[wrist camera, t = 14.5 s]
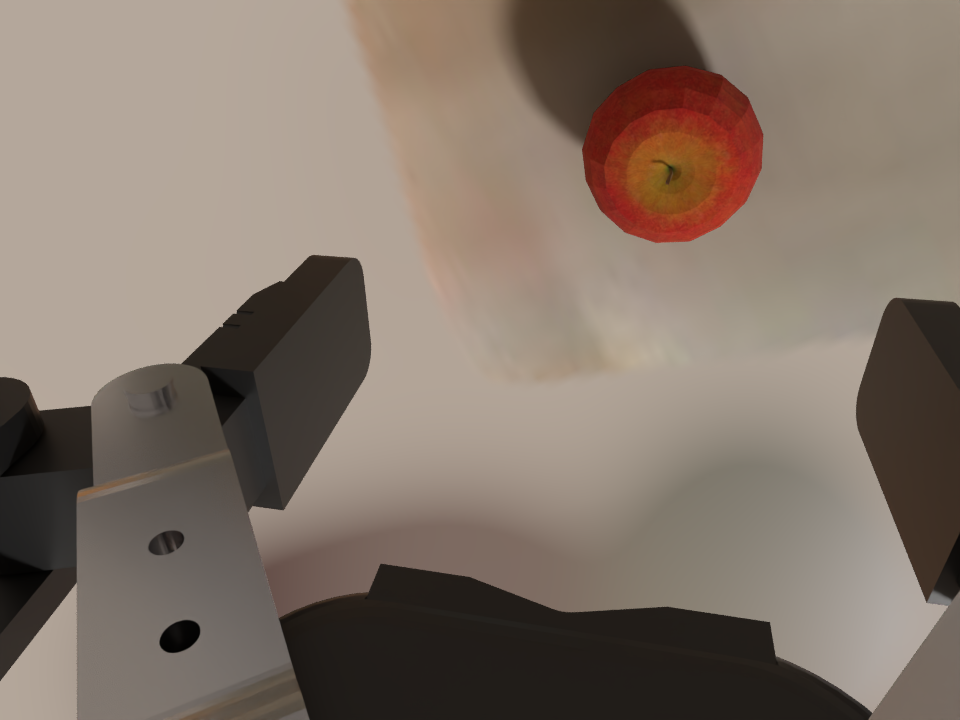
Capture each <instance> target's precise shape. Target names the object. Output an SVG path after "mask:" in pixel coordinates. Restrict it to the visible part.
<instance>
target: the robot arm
mask: <svg viewBox="0 0 960 720" xmlns="http://www.w3.org/2000/svg"><path fill="white" fill-rule="evenodd" d="M370 356H371V339H370V330H369V321H368V312H367V303H366V294H365V285H364V276H363V270H362V266H361V264H360V262H359V261H358V259H356V258H348V257H334V256H319V255H312V256H309V257H308V258H307V259H306V260H305V261H304V262H303V263H302V264H301V265H300V266H299V267H298V268H297V269H296V270H295V271H294V272H293V273H292V274H291V275H290V276H289V277H288V278H287V279H286V280H285V281H284V282H282V281H279V282H277V283H275V284H273V285H271V286H269V287H267V288H265V289H263V290H261V291H259V292H257V293H255V294H254V295H252V296H251V297H250V298H249V299H248V300H247V301H246V302H245V303H244V304H243V305H242V306H241V307H240V308H239V309H238V310H237V314H233V315H231V316H230V317H229V318H228V320H226V321H225V322H224V323H223V327H219V328H218V329H217V330H216V331H215V332H214V333H213V334H212V335H211V336H210V337H209V338H208V339H207V340H205V342H203V344H202V345H200V346H199V347H198V348H197V349H196V350H195V351H194V352H193V353H192V354H191V355H190V356H189V357H188V358H187V359H186V360H185V361H184V362H183V363H182V364H160V365H152V366H147V367H143V368H140V369H136V370H134V371H131V372H128V373H126V374H124V375H121V376H119V377H117V378H116V379H114V380H112V381H110V382H109V383H108V384H106V385H105V386H104V387H102V388H101V389H100V390H99V391H98V393H97V394H96V395H95V396H94V399H93V401H92V405H91V406H85V407H75V408H64V409H53V410H43V411H39V410H38V408H37V405H36V403H35V400H34V398H33V396H32V393H31V391H30V389H29V386H28V385H27V384H26V383H24V382H22V381H21V380H17V379H14V378H7V377H0V681H1V679H2V678H3V677H4V675H5V674H6V673H7V671H8V670H9V669H10V668H11V666H12V665H13V664H14V663H15V661H16V660H17V659H18V657H19V656H20V655H21V654H22V652H23V651H24V650H25V648H26V647H27V646H28V645H29V643H30V642H31V641H32V639H33V638H34V636H36V634H37V633H38V632H39V630H40V629H41V628H42V627H43V625H44V624H45V623H46V621H47V620H48V619H49V618H50V616H51V615H52V614H53V612H54V611H55V610H56V609H57V607H58V606H59V605H60V603H61V602H62V601H63V600H64V598H65V597H66V596H67V594H68V593H69V592H70V591H71V589H72V588H73V587H74V585H75V584H76V583H77V720H960V307H959V306H958V305H957V304H956V303H954V302H947V301H933V300H919V299H905V298H894V299H892V300H891V301H890V302H889V304H888V305H887V307H886V309H885V311H884V313H883V316H882V319H881V322H880V325H879V328H878V332H877V335H876V338H875V341H874V344H873V347H872V350H871V354H870V356H869V360H868V363H867V366H866V369H865V372H864V375H863V378H862V381H861V385H860V388H859V392H858V397H857V405H856V419H857V426H858V430H859V433H860V436H861V438H862V441H863V443H864V446H865V448H866V451H867V453H868V456H869V458H870V461H871V463H872V466H873V468H874V471H875V473H876V476H877V478H878V481H879V483H880V486H881V489H882V491H883V494H884V496H885V499H886V501H887V504H888V506H889V509H890V511H891V514H892V516H893V519H894V521H895V524H896V526H897V529H898V532H899V534H900V536H901V539H902V541H903V544H904V547H905V549H906V552H907V554H908V557H909V559H910V562H911V564H912V567H913V569H914V572H915V574H916V577H917V579H918V582H919V585H920V587H921V590H922V592H923V595H924V597H925V600H926V602H927V603H932V604H939V605H946V606H948V608H947V609H946V611H945V612H944V613H943V615H942V616H941V618H940V619H939V621H938V622H937V623H936V625H935V626H934V628H933V629H932V630H931V632H930V633H929V635H928V636H927V638H926V639H925V640H924V642H923V643H922V645H921V646H920V647H919V649H918V650H917V651H916V653H915V654H914V656H913V657H912V659H911V660H910V662H909V663H908V664H907V666H906V667H905V668H904V670H903V671H902V673H901V674H900V676H899V677H898V678H897V680H896V681H895V682H894V684H893V686H892V687H891V688H890V690H889V691H888V693H887V694H886V695H885V697H884V698H883V699H882V701H881V702H880V704H879V705H878V707H877V708H876V709H875V711H874V712H873V713H872V712H870V711H869V710H868V709H867V708H866V707H865V706H863V705H862V704H860V703H859V702H858V701H856V700H855V699H853V698H852V697H851V696H849V695H848V694H846V693H845V692H843V691H842V690H841V689H839V688H838V687H836V686H834V685H833V684H831V683H829V682H828V681H826V680H824V679H822V678H821V677H819V676H817V675H815V674H814V673H811V672H810V671H808V670H806V669H804V668H801V667H799V666H797V665H795V664H793V663H791V662H789V661H786V660H784V659H781V658H779V657H776V656H775V650H774V644H773V639H772V633H771V626H770V622H764V621H758V620H751V619H745V618H737V617H731V616H724V615H718V614H711V613H705V612H698V611H692V610H685V609H678V608H671V607H657V608H641V609H626V610H625V609H624V610H607V611H592V612H572V613H571V612H561V611H557V610H554V609H551V608H548V607H546V606H543V605H541V604H538V603H536V602H533V601H530V600H527V599H525V598H522V597H520V596H517V595H515V594H512V593H509V592H507V591H504V590H502V589H499V588H497V587H494V586H491V585H489V584H486V583H483V582H481V581H478V580H476V579H473V578H471V577H465V576H458V575H452V574H445V573H439V572H432V571H426V570H419V569H412V568H406V567H398V566H392V565H386V564H380V567H379V569H378V572H377V574H376V576H375V579H374V581H373V584H372V586H371V588H370V591H369V592H366V593H356V594H349V595H344V596H338V597H334V598H330V599H326V600H323V601H319V602H316V603H313V604H310V605H307V606H305V607H302V608H300V609H297V610H294V611H292V612H290V613H288V614H286V615H284V616H282V617H280V618H278V614H277V611H276V608H275V604H274V601H273V597H272V594H271V590H270V587H269V584H268V580H267V577H266V573H265V570H264V566H263V563H262V560H261V556H260V553H259V550H258V546H257V542H256V539H255V535H254V532H253V529H252V525H251V522H250V518H249V515H248V512H249V510H250V509H251V507H252V506H256V507H263V508H271V509H278V510H284V509H285V507H286V505H287V504H288V502H289V501H290V499H291V497H292V496H293V494H294V492H295V491H296V489H297V488H298V486H299V484H300V483H301V481H302V479H303V478H304V476H305V474H306V473H307V471H308V470H309V468H310V466H311V465H312V463H313V462H314V460H315V458H316V457H317V455H318V453H319V452H320V450H321V449H322V447H323V445H324V444H325V442H326V440H327V439H328V437H329V435H330V434H331V432H332V431H333V429H334V427H335V426H336V424H337V422H338V421H339V419H340V418H341V416H342V414H343V413H344V411H345V410H346V408H347V406H348V405H349V403H350V401H351V400H352V398H353V397H354V395H355V393H356V392H357V390H358V388H359V387H360V385H361V383H362V382H363V380H364V378H365V377H366V374H367V371H368V367H369V363H370Z"/></svg>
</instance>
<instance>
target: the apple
mask: <svg viewBox="0 0 960 720" xmlns="http://www.w3.org/2000/svg"><path fill="white" fill-rule="evenodd" d="M762 149H763V133H762V130H761V127H760V125H759V123H758V120H757V118H756V115H755V113H754V111H753V108H752V106H751V104H750V101H749V99H748V97H747V96H746V95H744V94H743V93H742V92H741V91H740V90H738V89H737V88H736V87H735V86H734V85H733V84H731V83H730V82H729V81H728V80H727V79H726V78H724V77H723V76H722V75H720V74H716V73H712V72H708V71H704V70H700V69H697V68H693V67H689V66H678V67H668V68H658V69H649V70H647V71H645V72H643V73H642V74H640V75H638V76H636V77H634V78H633V79H631V80H629V81H627V82H626V83H624V84H622V85H620V86H618V87H617V88H616V89H615V90H614V91H613V92H612V93H611V94H610V96H609V97H608V98H607V99H606V100H605V101H604V102H603V103H602V104H601V105H600V107H599V108H598V109H597V110H596V111H595V112H594V114H593V117H592V120H591V123H590V126H589V129H588V133H587V136H586V139H585V142H584V145H583V148H582V152H583V161H584V169H585V177H586V182H587V184H588V186H589V188H590V190H591V192H592V194H593V196H594V198H595V200H596V202H597V205H598V207H599V209H600V210H601V211H602V212H603V213H604V214H605V215H606V216H607V217H608V218H609V219H611V220H612V221H613V222H614V223H615V224H616V225H617V226H618V227H619V228H621V229H622V230H623V231H624V232H625V233H628V234H631V235H634V236H637V237H640V238H643V239H646V240H649V241H652V242H655V243H661V242H686V241H691V240H694V239H696V238H698V237H700V236H702V235H704V234H706V233H708V232H710V231H712V230H714V229H716V228H718V227H720V226H721V225H722V224H723V223H725V222H726V221H727V220H728V219H729V218H730V217H731V216H732V215H733V214H734V213H735V212H736V211H737V210H738V209H739V208H740V207H741V206H742V205H743V204H744V203H745V202H746V201H747V199H748V197H749V195H750V193H751V190H752V188H753V186H754V184H755V182H756V180H757V177H758V175H759V173H760V171H761V168H762Z"/></svg>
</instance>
